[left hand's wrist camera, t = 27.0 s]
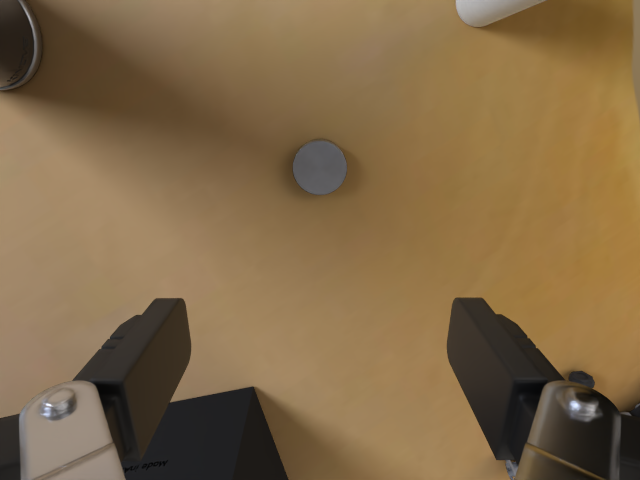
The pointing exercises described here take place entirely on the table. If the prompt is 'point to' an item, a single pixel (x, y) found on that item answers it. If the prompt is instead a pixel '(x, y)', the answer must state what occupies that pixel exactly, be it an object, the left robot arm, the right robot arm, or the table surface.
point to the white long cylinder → (490, 10)
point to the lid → (319, 167)
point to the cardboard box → (211, 442)
